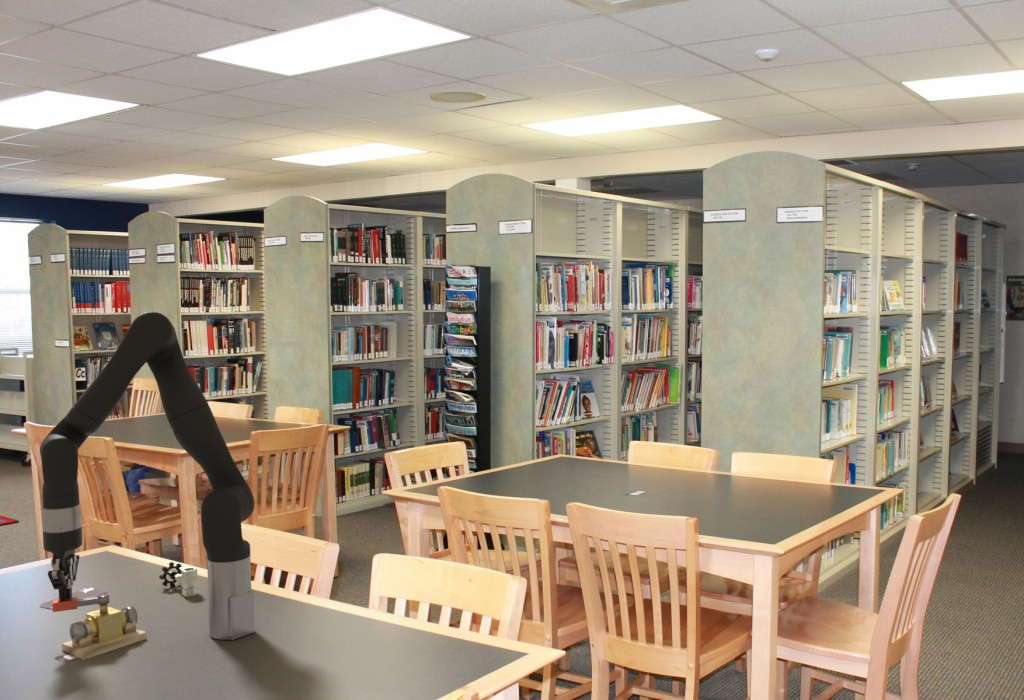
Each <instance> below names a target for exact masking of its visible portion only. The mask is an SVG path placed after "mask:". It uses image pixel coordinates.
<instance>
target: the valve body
mask: <svg viewBox="0 0 1024 700" xmlns="http://www.w3.org/2000/svg"><path fill="white" fill-rule="evenodd" d="M108 605H109V603H108V604H104V605H99V609H97V610H93V611H90V612H87V613H85V618H84V620H80V621H77V622H74V623H71V624H70V625H69V636H70V639H71V641H73V642H74V643H79V642H80V640H81V639H84V638H87V636H88V635H92V641H93V642H96V643H98V644H101V643H104V642H107V641H111V640H114V639H117V638H120V637H123V632H122V629H124V628H125V627H126V623H129V622H130V624H132V623H135V622H136V624H137V623H138V617H139V616H138V613H137V612H138V611H137V610H136V608H135V607H134V606H132V605H130V606H126V607H123V608H122V609H121V608H119V609H118V608H114V607H110V606H108Z"/></svg>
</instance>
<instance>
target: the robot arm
mask: <svg viewBox="0 0 1024 700" xmlns="http://www.w3.org/2000/svg"><path fill="white" fill-rule="evenodd" d="M145 364H146V365H148V367H149V369H150V371H151V373H152V375H153V378H154V379H155V382H156V385H157V389H158V391H159V396H160V401H161V404H162V409H163V410H164V413H165V416H166V418H167V421H168V423H169V426H170V428H171V430H172V432H173V435H174V436H175V439H176V440H177V442H178V444H179V445H180V447H182V449H183V450H184V451H185V452H186V453H187V454H188V455H189V456H190V457H191V458H192V459H193V460H194V461H195V462H196V463H197V464H198V465H199V466H200V468H202V471H203V472H204V473H205V475H206V476H207V479H208V481H209V484H210V486H211V488H212V490H211V491H209V492H208V493H207V494H205V496H204V497H203V499H202V502H201V507H200V521H201V523H200V524H201V534H202V544H203V547H204V549H205V552H206V558H207V562H206V564H207V565H206V566H207V596H208V598H207V599H208V623H209V626H208V627H209V631H208V632H209V636H210V638H213V639H214V640H215V639H216V640H230V641H234V640H237V639H239V638H243V637H245V636H248V635H251V634H254V633H255V632H256V623H255V621H256V620H255V616H256V615H255V614H256V613H255V591H254V590H252V571H251V570H252V565H251V564H252V563H251V562H252V561H251V544H250V542H249V541H248V540H246V539H244V538H243V532H242V523H243V522H244V521H246V520H247V519H249V518H250V517H251V516H252V515H253V512H254V509H255V498H254V495H253V493H252V490H251V488H250V486H249V484H248V483H247V480H246V479H245V477H244V475H242V473H241V471H240V469H239V468H238V466H237V464H236V463H235V460H234V458H233V457H232V454H231V452H230V450H229V448H228V445H227V443H226V441H225V439H224V436H223V435H222V432H221V430H220V428H219V426H218V424H217V423H218V422H217V421H216V418H215V416H214V413H213V411H212V409H211V407H210V405H209V403H208V400H207V399H206V397H205V395H204V393H203V392H202V390H201V388H200V386H199V384H198V382H197V381H196V380H195V378H194V377H193V375H192V373H191V371H190V370H189V369H188V366H187V364H186V361H185V358H184V355H183V352H182V349H181V347H180V343H179V340H178V336H177V333H176V329H175V327H174V325H173V323H172V322H171V320H170V319H169V317H167V316H166V315H164V314H163V313H161V312H158V311H146V312H143V313H141V314H139V315H138V316H136V317H135V318H134V319H133V320H132V323H131V324H130V326H129V328H128V330H127V331H126V333H125V334H124V337H123V338H122V340H121V342H120V344H119V346H118V347H117V348H116V350H115V352H114V353H113V354H112V356H111V358H110V359H109V361H108V362H107V364H106V365H105V366H104V367H103V369H101V371H100V372H99V373H98V374H97V376H96V378H95V379H93V381H92V382H91V383H90V384H89V385H88V387H87V388H86V389H85V390H84V391H83V393H82V394H81V396H79V398H78V399H77V401H75V403H74V404H73V406H71V408H70V409H69V411H68V412H67V414H66V415H65V416H64V417H63V418H62V419H61V420H60V421H59V422H58V423H57V424H56V425H55V426H54V427H53V428H52V429H51V430H50V431H49V433H48V434H47V435H46V436H45V438H44V439H43V440H42V441H41V443H40V447H39V454H40V459H41V465H42V466H41V468H42V469H41V470H42V478H43V479H42V480H43V484H42V491H41V494H42V495H41V496H42V516H41V518H42V519H41V521H42V526H41V527H42V540H43V541H42V544H43V546H42V547H43V550H44V551H45V552H48V553H52V558H51V561H50V564H51V566H50V567H51V568H52V570H48V571H47V577H48V579H49V581H50V583H51V585H52V588H53V590H58V598H59V599H67V598H72V593H73V588H72V587H73V586H74V582H75V581H76V579H77V573H78V568H79V562H80V554H76V549H78V548H81V546H82V545H83V524H82V523H83V522H82V521H83V520H82V510H81V507H80V505H81V504H80V489H79V482H78V476H79V475H78V474H79V471H78V470H79V449H80V448H81V446H83V444H84V443H85V441H86V440H87V439H88V438H89V436H90V435H91V434H94V433H95V432H96V431H98V430H99V428H100V427H101V426H102V425H103V424H104V422H105V421H106V420H107V419H108V417H109V416H110V414H112V412H113V411H114V410H115V408H116V407H117V406H118V404H119V403H120V400H121V399H122V398H123V396H124V394H125V392H126V390H127V389H128V387H129V385H130V383H131V382H132V381H133V379H134V378H135V376H136V375H137V374H138V372H139V371H140V370H141V369H142V368H143V366H144V365H145Z"/></svg>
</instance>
